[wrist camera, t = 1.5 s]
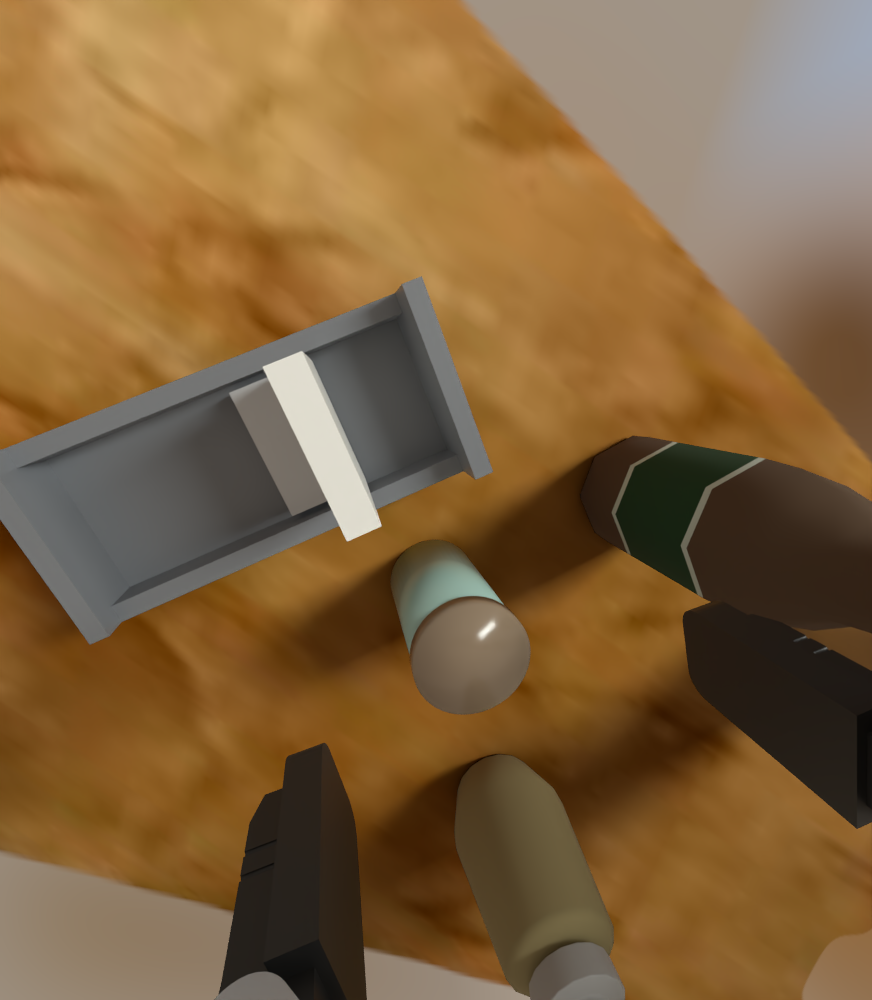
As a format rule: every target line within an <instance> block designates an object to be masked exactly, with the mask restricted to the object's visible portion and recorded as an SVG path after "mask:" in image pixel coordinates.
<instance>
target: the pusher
mask: <svg viewBox="0 0 872 1000" xmlns="http://www.w3.org/2000/svg"><path fill="white" fill-rule="evenodd" d="M263 369H264V371H265V373H266V375H267V378H264V379H262V380H260V381H257V382H255V383H252V384H250V385H247V386H245V387H242V388H240V389H237V390H235V391H232V392H230V393H229V394H230V396H231V398H232V400H233V402H234V404H235V406H236V408H237V410H238V412H239V414H240V416H241V418H242V420H243V421H244V423H245V425H246V427H247V429H248V431H249V433H250V435H251V437H252V439H253V441H254V443H255V445H256V447H257V449H258V451H259V453H260V455H261V456H262V458H263V460H264V462H265V464H266V466H267V468H268V470H269V472H270V474H271V476H272V478H273V480H274V482H275V484H276V486H277V488H278V490H279V491H280V493H281V495H282V497H283V499H284V501H285V503H286V505H287V507H288V509H289V511H290V513H291V515H292V516H294V515H296V514H298V513H301V512H303V511H305V510H308V509H310V508H312V507H314V506H317V505H319V504H321V503H324V502H326V501H328V503H329V505H330V507H331V510H332V512H333V514H334V516H335V518H336V520H337V522H338V524H339V526H340V528H341V530H342V532H343V534H344V536H345V538H346V540H347V541H350V540H352V539H354V538H356V537H359V536H361V535H363V534H365V533H368V532H370V531H372V530H374V529H377V528H379V527H381V526H382V525H381V522H380V519H379V516H378V514H377V511H376V508H375V505H374V502H373V499H372V496H371V493H370V490H369V487H368V484H367V482H366V479H365V476H364V474H363V472H362V470H361V467H360V465H359V463H358V461H357V459H356V456H355V454H354V452H353V450H352V448H351V445H350V443H349V441H348V439H347V436H346V434H345V432H344V430H343V428H342V425H341V423H340V421H339V419H338V417H337V414H336V412H335V410H334V408H333V406H332V403H331V401H330V399H329V397H328V394H327V392H326V390H325V388H324V386H323V383H322V381H321V379H320V377H319V375H318V372H317V370H316V368H315V366H314V363H313V361H312V360H311V359H310V358H309V357H308V356H307V355H306V354H305V353H304V352H303V351H300V352H298V353H296V354H293V355H291V356H288V357H286V358H283V359H281V360H278V361H276V362H273V363H271V364H268V365H266V366H263Z"/></svg>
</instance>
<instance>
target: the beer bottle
mask: <svg viewBox="0 0 872 1000" xmlns="http://www.w3.org/2000/svg"><path fill="white" fill-rule="evenodd" d="M580 497H581V500H582V502H583V505H584V507H585V510H586V512H587V515H588V517H589V520H590V522H591V525H592V527H593V529H594V532H595V533H596V534H598V535H599V536H601V537H602V538H603V539H605V540H606V541H607V542H609V543H611V544H613V545H614V546H616V547H618V548H619V549H621V550H623V551H624V552H626V553H628V554H630V555H631V556H633V557H635V558H636V559H638V560H640V561H641V562H643V563H645V564H646V565H648V566H650V567H652V568H653V569H655V570H657V571H658V572H660V573H662V574H663V575H665V576H667V577H669V578H670V579H672V580H674V581H675V582H677V583H679V584H680V585H682V586H684V587H686V588H687V589H689V590H691V591H692V592H694V593H696V594H697V595H699V596H701V597H702V598H704V599H706V600H709V601H711V602H713V601H717V600H720V601H723V602H725V603H727V604H729V605H731V606H733V607H734V608H736V609H738V610H740V611H741V612H743V613H745V614H747V615H750V614H754V615H758V616H762V617H765V618H769V619H772V620H776V621H779V622H782V623H784V624H786V625H788V626H789V627H794V628H800V629H806V630H812V631H817V630H827V629H837V628H846V627H853V628H856V629H859V630H862V631H866V632H869V633H871V634H872V502H871V501H869V500H868V499H866V498H865V497H863V496H862V495H860V494H858V493H857V492H855V491H854V490H852V489H851V488H849V487H847V486H845V485H842V484H839V483H837V482H834V481H832V480H829V479H826V478H824V477H821V476H819V475H816V474H813V473H811V472H808V471H806V470H803V469H800V468H797V467H793V466H790V465H786V464H782V463H779V462H775V461H772V460H768V459H764V458H758V457H753V456H748V455H742V454H737V453H731V452H726V451H720V450H715V449H710V448H704V447H699V446H693V445H688V444H683V443H677V442H672V441H666V440H661V439H655V438H650V437H640V436H632V437H630V438H628V439H626V440H624V441H623V442H621V443H619V444H617V445H615V446H613V447H612V448H610V449H608V450H606V451H604V452H602V453H601V454H599V455H597V456H595V458H594V460H593V463H592V465H591V468H590V471H589V473H588V476H587V478H586V481H585V484H584V486H583V489H582V491H581V494H580Z"/></svg>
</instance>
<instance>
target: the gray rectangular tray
mask: <svg viewBox="0 0 872 1000" xmlns="http://www.w3.org/2000/svg"><path fill="white" fill-rule="evenodd" d="M300 351H303V352H304V353H305V354H306V355H307V356H308V357H309V358H310V359H311V360H312V361H313V363H314V366H315V368H316V370H317V372H318V375H319V377H320V379H321V381H322V383H323V386H324V388H325V390H326V392H327V394H328V397H329V399H330V401H331V403H332V406H333V408H334V410H335V412H336V414H337V417H338V419H339V421H340V423H341V425H342V428H343V430H344V432H345V434H346V436H347V439H348V441H349V443H350V445H351V448H352V450H353V452H354V454H355V456H356V459H357V461H358V463H359V465H360V467H361V470H362V472H363V474H364V476H365V479H366V482H367V484H368V487H369V490H370V493H371V496H372V499H373V502H374V505H375V508H376V509H378V508H381V507H383V506H385V505H387V504H390V503H392V502H394V501H396V500H399V499H401V498H403V497H405V496H408V495H410V494H412V493H415V492H417V491H419V490H421V489H424V488H426V487H428V486H430V485H433V484H435V483H437V482H439V481H442V480H444V479H446V478H449V477H451V476H453V475H455V474H458V473H460V472H462V471H464V472H466V473H467V474H468V475H470V476H471V477H473V478H474V479H478V478H480V477H483V476H485V475H487V474H489V473H492V472H493V470H492V468H491V465H490V462H489V459H488V457H487V454H486V451H485V448H484V446H483V443H482V440H481V437H480V435H479V432H478V429H477V427H476V424H475V421H474V418H473V416H472V413H471V410H470V407H469V405H468V402H467V399H466V396H465V394H464V391H463V388H462V385H461V383H460V380H459V377H458V374H457V372H456V369H455V366H454V363H453V361H452V358H451V355H450V353H449V350H448V347H447V344H446V342H445V339H444V336H443V333H442V331H441V328H440V325H439V322H438V320H437V317H436V314H435V311H434V309H433V306H432V303H431V300H430V298H429V295H428V292H427V289H426V287H425V284H424V281H423V278H422V276H421V277H419V278H416V279H414V280H411V281H409V282H406V283H404V284H402V285H401V286H400V287H399V289H398V290H397V291H396V293H395V294H392V295H389V296H387V297H384V298H382V299H379V300H377V301H374V302H372V303H369V304H367V305H364V306H362V307H359V308H357V309H354V310H352V311H349V312H347V313H344V314H342V315H339V316H337V317H334V318H332V319H329V320H327V321H324V322H322V323H319V324H317V325H314V326H312V327H309V328H307V329H304V330H302V331H299V332H297V333H294V334H292V335H289V336H287V337H284V338H281V339H279V340H276V341H274V342H271V343H269V344H266V345H264V346H261V347H259V348H256V349H254V350H251V351H249V352H246V353H244V354H241V355H239V356H236V357H234V358H231V359H229V360H226V361H224V362H221V363H219V364H216V365H214V366H211V367H209V368H206V369H204V370H201V371H199V372H196V373H194V374H191V375H189V376H186V377H184V378H181V379H179V380H176V381H174V382H171V383H168V384H166V385H163V386H161V387H158V388H156V389H153V390H151V391H148V392H146V393H143V394H141V395H138V396H136V397H133V398H131V399H128V400H126V401H123V402H121V403H118V404H116V405H113V406H111V407H108V408H106V409H103V410H101V411H98V412H96V413H93V414H91V415H88V416H86V417H83V418H81V419H78V420H76V421H73V422H71V423H68V424H66V425H63V426H60V427H58V428H55V429H53V430H50V431H48V432H45V433H43V434H40V435H38V436H35V437H33V438H30V439H28V440H25V441H23V442H20V443H18V444H15V445H13V446H10V447H8V448H5V449H2V450H0V520H1V521H2V523H3V524H4V526H5V527H6V528H7V530H8V531H9V533H10V534H11V535H12V537H13V538H14V540H15V541H16V542H17V544H18V545H19V546H20V548H21V549H22V551H23V552H24V553H25V555H26V556H27V558H28V559H29V560H30V562H31V563H32V565H33V566H34V567H35V569H36V570H37V572H38V573H39V574H40V576H41V577H42V579H43V580H44V581H45V583H46V584H47V586H48V587H49V588H50V590H51V591H52V593H53V594H54V595H55V597H56V598H57V600H58V601H59V602H60V604H61V605H62V606H63V608H64V609H65V611H66V612H67V613H68V615H69V616H70V618H71V619H72V620H73V622H74V623H75V625H76V626H77V627H78V629H79V630H80V632H81V633H82V634H83V636H84V637H85V639H86V640H87V641H88V643H89V644H93V643H95V642H97V641H99V640H102V639H104V638H106V637H108V636H110V635H111V634H112V632H113V631H114V630H115V629H116V628H117V627H118V625H119V624H120V623H121V622H122V621H125V620H127V619H129V618H132V617H134V616H136V615H138V614H141V613H143V612H145V611H147V610H150V609H152V608H154V607H156V606H159V605H161V604H163V603H165V602H168V601H170V600H172V599H175V598H177V597H179V596H181V595H184V594H186V593H188V592H190V591H193V590H195V589H197V588H199V587H202V586H204V585H206V584H209V583H211V582H213V581H215V580H218V579H220V578H222V577H224V576H227V575H229V574H231V573H233V572H236V571H238V570H240V569H242V568H245V567H247V566H249V565H252V564H254V563H256V562H258V561H261V560H263V559H265V558H267V557H270V556H272V555H274V554H276V553H279V552H281V551H283V550H285V549H288V548H290V547H292V546H295V545H297V544H299V543H301V542H304V541H306V540H308V539H310V538H313V537H315V536H317V535H319V534H322V533H324V532H326V531H329V530H331V529H333V528H335V527H338V526H339V524H338V522H337V520H336V518H335V516H334V514H333V512H332V510H331V507H330V505H329V503H328V501H326V502H324V503H321V504H319V505H317V506H314V507H312V508H310V509H308V510H305V511H303V512H301V513H298V514H296V515H294V516H292V515H291V513H290V511H289V509H288V507H287V505H286V503H285V501H284V499H283V497H282V495H281V493H280V491H279V490H278V488H277V486H276V484H275V482H274V480H273V478H272V476H271V474H270V472H269V470H268V468H267V466H266V464H265V462H264V460H263V458H262V456H261V455H260V453H259V451H258V449H257V447H256V445H255V443H254V441H253V439H252V437H251V435H250V433H249V431H248V429H247V427H246V425H245V423H244V421H243V420H242V418H241V416H240V414H239V412H238V410H237V408H236V406H235V404H234V402H233V400H232V398H231V396H230V394H229V393H230V392H232V391H235V390H237V389H240V388H242V387H245V386H247V385H250V384H252V383H255V382H257V381H260V380H262V379H264V378H267V375H266V373H265V371H264V369H263V366H266V365H268V364H271V363H273V362H276V361H278V360H281V359H283V358H286V357H288V356H291V355H293V354H296V353H298V352H300Z"/></svg>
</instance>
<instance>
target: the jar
mask: <svg viewBox="0 0 872 1000" xmlns="http://www.w3.org/2000/svg"><path fill="white" fill-rule="evenodd" d="M390 583H391V590H392V594H393V598H394V601H395V605H396V608H397V612H398V616H399V619H400V623H401V626H402V630H403V633H404V637H405V640H406V644H407V647H408V651H409V654H410V664H411V669H412V673H413V676H414V680H415V683H416V685H417V688H418V690H419V691H420V693H421V695H422V696H423V697H424V698H425V699H426V700H427V701H428V702H429V703H430V704H431V705H433V706H434V707H436V708H438V709H440V710H442V711H445V712H448V713H453V714H473V713H479V712H482V711H485V710H488V709H490V708H492V707H494V706H496V705H498V704H500V703H501V702H503V701H504V700H505V699H507V698H508V697H509V696H510V695H511V694H512V693H513V692H514V691H515V690H516V689H517V687H518V686H519V684H520V683H521V682H522V680H523V678H524V676H525V674H526V671H527V669H528V665H529V661H530V643H529V639H528V636H527V633H526V631H525V629H524V627H523V626H522V625H521V623H520V622H519V620H518V619H517V618H516V617H515V615H514V614H513V613H512V612H511V611H510V610H509V609H508V608H507V607H506V606H505V605H504V604H503V603H502V602H501V600H500V599H499V598H498V596H497V595H496V594H495V592H494V591H493V590H492V588H491V587H490V586H489V585H488V583H487V582H486V581H485V579H484V578H483V577H482V575H481V574H480V573H479V571H478V570H477V569H476V568H475V566H474V565H473V564H472V562H471V561H470V560H469V558H468V557H467V556H466V554H465V553H464V552H463V551H462V550H461V549H460V548H459V547H457V546H456V545H454V544H452V543H450V542H447V541H443V540H427V541H422V542H420V543H417V544H415V545H413V546H411V547H410V548H408V549H407V550H406V551H405V552H404V553H402V555H401V556H400V557H399V558H398V560H397V561H396V563H395V565H394V567H393V570H392V573H391V581H390Z"/></svg>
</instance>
